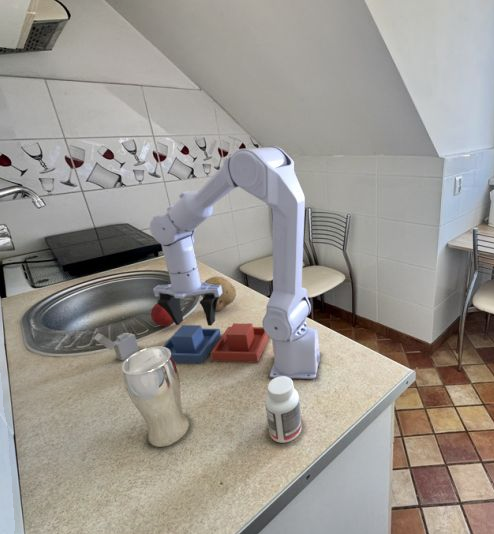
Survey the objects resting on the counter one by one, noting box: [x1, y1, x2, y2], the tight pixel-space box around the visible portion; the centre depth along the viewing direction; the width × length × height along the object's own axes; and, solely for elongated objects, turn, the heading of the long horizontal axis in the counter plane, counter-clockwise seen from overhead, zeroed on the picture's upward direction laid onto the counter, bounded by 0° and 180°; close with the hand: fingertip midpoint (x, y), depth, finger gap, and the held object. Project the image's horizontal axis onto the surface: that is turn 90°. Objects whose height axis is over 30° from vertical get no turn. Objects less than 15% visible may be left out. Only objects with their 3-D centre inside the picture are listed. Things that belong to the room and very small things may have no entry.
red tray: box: [210, 326, 270, 363], centre depth 75 cm, size 10×10×2 cm
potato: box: [200, 276, 237, 312], centre depth 90 cm, size 9×9×10 cm
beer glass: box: [121, 345, 190, 448], centre depth 51 cm, size 7×7×15 cm
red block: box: [226, 322, 255, 352], centre depth 74 cm, size 5×5×5 cm
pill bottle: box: [264, 376, 302, 444], centre depth 52 cm, size 5×5×10 cm
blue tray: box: [162, 327, 222, 365], centre depth 75 cm, size 10×10×2 cm
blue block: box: [171, 324, 205, 354], centre depth 74 cm, size 5×5×5 cm
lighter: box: [92, 332, 140, 361], centre depth 71 cm, size 7×2×8 cm, turn 154°
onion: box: [150, 302, 174, 327], centre depth 83 cm, size 6×6×8 cm
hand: (195, 322), depth 74 cm, fingers open, 7 cm apart
